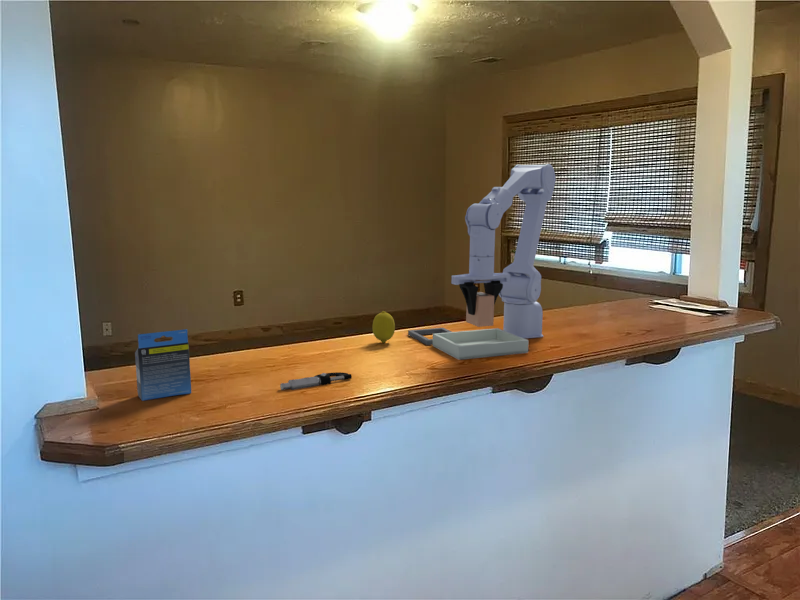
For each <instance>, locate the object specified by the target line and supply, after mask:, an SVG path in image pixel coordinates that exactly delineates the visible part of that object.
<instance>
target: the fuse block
mask: <svg viewBox="0 0 800 600" xmlns="http://www.w3.org/2000/svg"><path fill="white" fill-rule="evenodd" d="M465 307H466V310H465V311H466V313H465V315H466V316H465V322H466V323H468V324H471V325H473V326H475V327H481V328H482V327H492V326H494V319H495V318H494V315H495V314H494V313H495V305H494V296H493V295H490V294H486V293H485V292H482V291H479V292H478V291H477V296H476V310H475V315H471V314H468V308H467V306H465Z"/></svg>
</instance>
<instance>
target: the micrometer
mask: <svg viewBox="0 0 800 600" xmlns="http://www.w3.org/2000/svg"><path fill="white" fill-rule="evenodd" d="M351 379H352V374H351V373H348V372H341V371H340V372H322V373H320V374H316V375H313V376H309V377H303V378H297V379H288V382H285V383H284V382H281V383H280V387H279V388H280V390H281V391H285V390H291V391H294V390H299V389H300V390H301V389H307V388H313V387H318V386H326V385H331V384H332V382H336V381H343V380H344V381H345V380H351Z"/></svg>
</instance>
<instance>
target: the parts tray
mask: <svg viewBox="0 0 800 600" xmlns="http://www.w3.org/2000/svg"><path fill="white" fill-rule="evenodd" d="M432 339H433V345H432V347H433V348H436V349H438V350H439V351H442V352H443V353H445V354H447V355H449V356H450V357H453V358H454V359H456V360H458V361H459V360H460V361H463V360H470V359H471V360H473V359H480V358H482V359H483V358H491V357H501V356H509V355H510V356H511V355H519V354H520V355H521V354H522V355H523V354H528V353H529V339H528V338H526V339H524V338H521V337H519V336H516V335H514V334H511V333H509V332H506V331H504V330H503V329H501V328H498V327H496V328H484V329H474V330H461V331H452V332H447V333H436V334H432Z"/></svg>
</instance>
